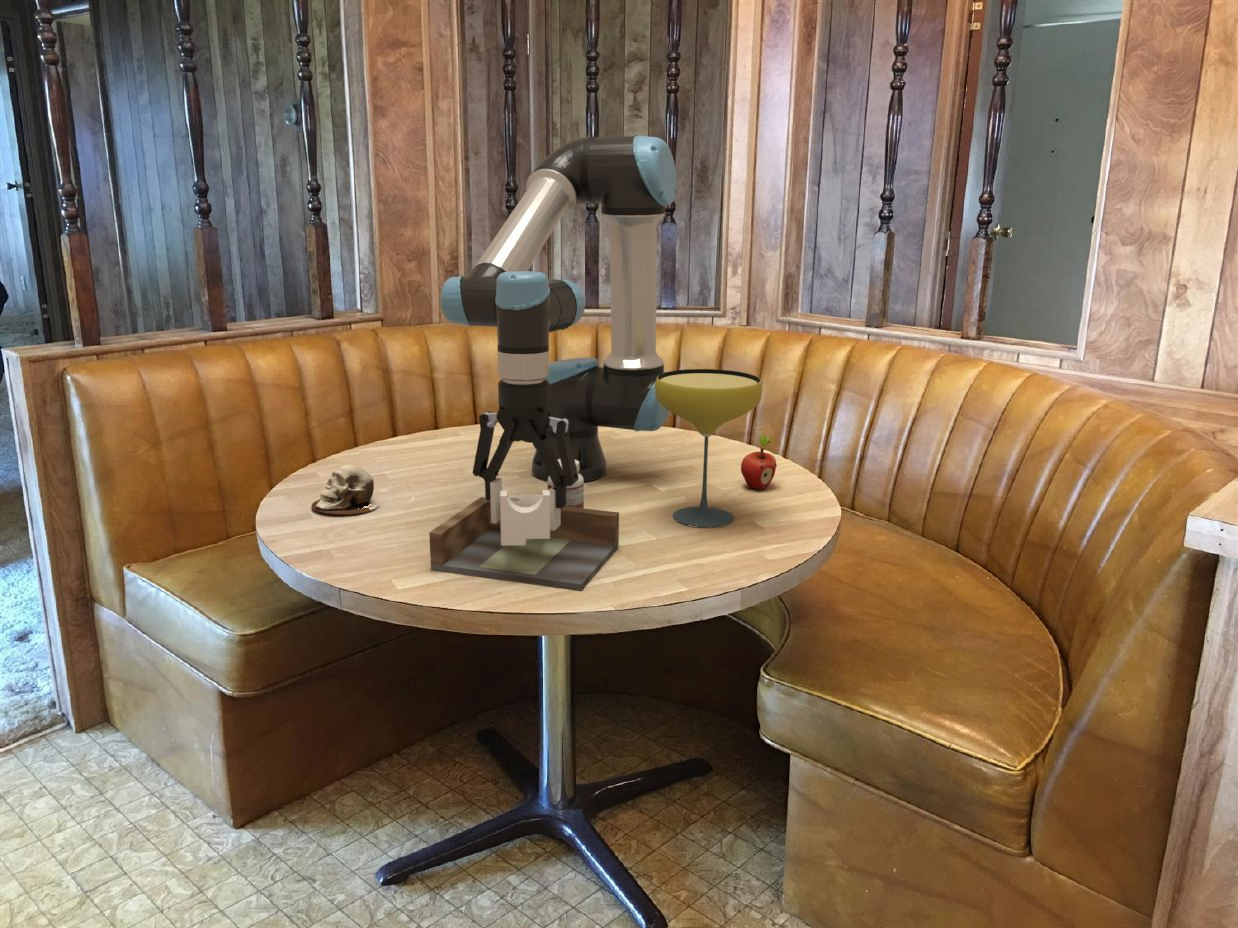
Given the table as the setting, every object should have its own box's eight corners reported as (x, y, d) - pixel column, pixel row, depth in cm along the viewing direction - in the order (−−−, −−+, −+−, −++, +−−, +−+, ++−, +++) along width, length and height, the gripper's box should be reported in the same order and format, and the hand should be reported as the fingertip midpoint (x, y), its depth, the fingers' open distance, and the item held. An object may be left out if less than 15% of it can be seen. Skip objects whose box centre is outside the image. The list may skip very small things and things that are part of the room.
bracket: (550, 544, 136) (549, 495, 134) (501, 545, 135) (500, 496, 133) (548, 515, 148) (547, 470, 146) (503, 516, 148) (502, 470, 145)
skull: (328, 518, 159) (309, 466, 162) (316, 543, 167) (298, 493, 170) (394, 503, 166) (374, 453, 169) (379, 527, 174) (360, 480, 177)
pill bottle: (547, 518, 163) (546, 457, 160) (582, 517, 164) (582, 456, 161) (548, 530, 157) (547, 467, 154) (584, 529, 158) (584, 466, 155)
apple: (777, 493, 178) (780, 443, 176) (742, 493, 178) (744, 442, 175) (771, 481, 186) (774, 433, 183) (737, 481, 186) (739, 432, 183)
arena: (482, 530, 156) (481, 496, 155) (618, 547, 150) (618, 512, 148) (431, 569, 140) (429, 532, 138) (581, 590, 133) (581, 551, 132)
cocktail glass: (728, 543, 152) (735, 393, 145) (633, 522, 161) (635, 380, 154) (770, 512, 167) (778, 375, 160) (681, 495, 176) (685, 365, 169)
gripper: (601, 379, 137) (600, 524, 143) (468, 370, 143) (472, 509, 149) (584, 389, 130) (584, 540, 136) (445, 378, 136) (450, 523, 142)
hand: (525, 523), depth 143 cm, fingers closed on bracket, 9 cm apart
